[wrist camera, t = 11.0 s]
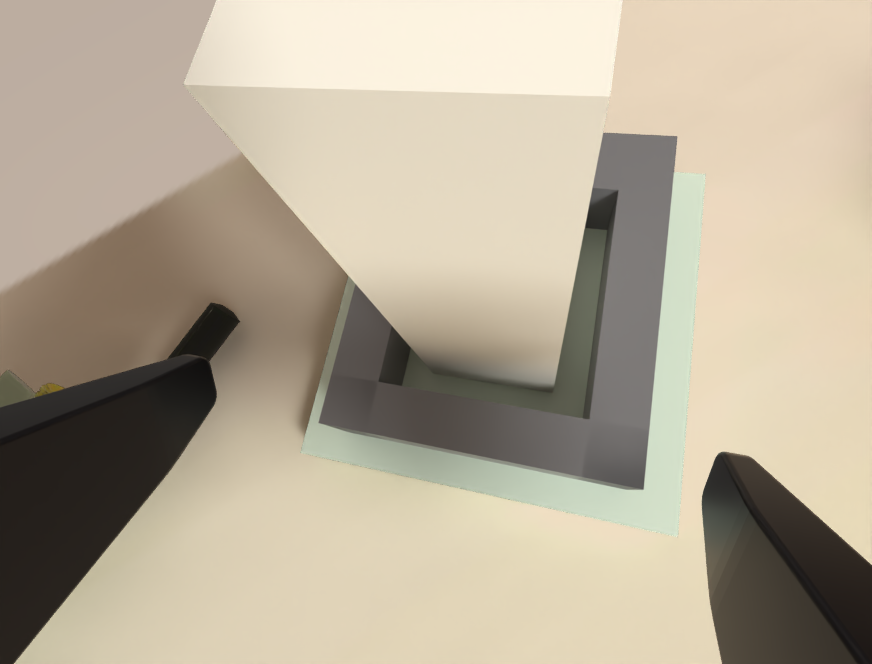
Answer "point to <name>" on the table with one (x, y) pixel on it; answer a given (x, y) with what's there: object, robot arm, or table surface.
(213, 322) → the handheld radio
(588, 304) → the socket board
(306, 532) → the table surface
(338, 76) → the plug
